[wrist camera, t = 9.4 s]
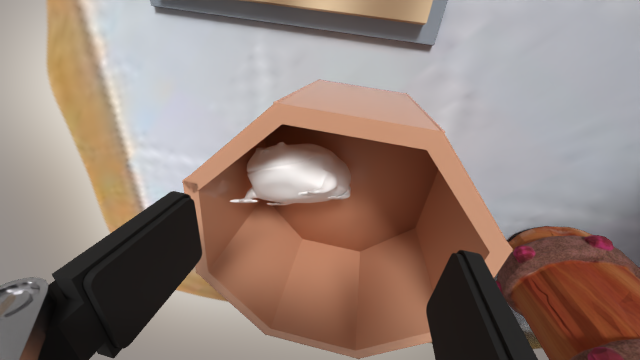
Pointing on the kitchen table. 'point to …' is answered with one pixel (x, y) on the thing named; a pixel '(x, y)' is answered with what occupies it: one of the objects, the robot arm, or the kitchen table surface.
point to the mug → (574, 293)
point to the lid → (365, 8)
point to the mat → (318, 18)
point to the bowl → (343, 223)
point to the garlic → (296, 175)
